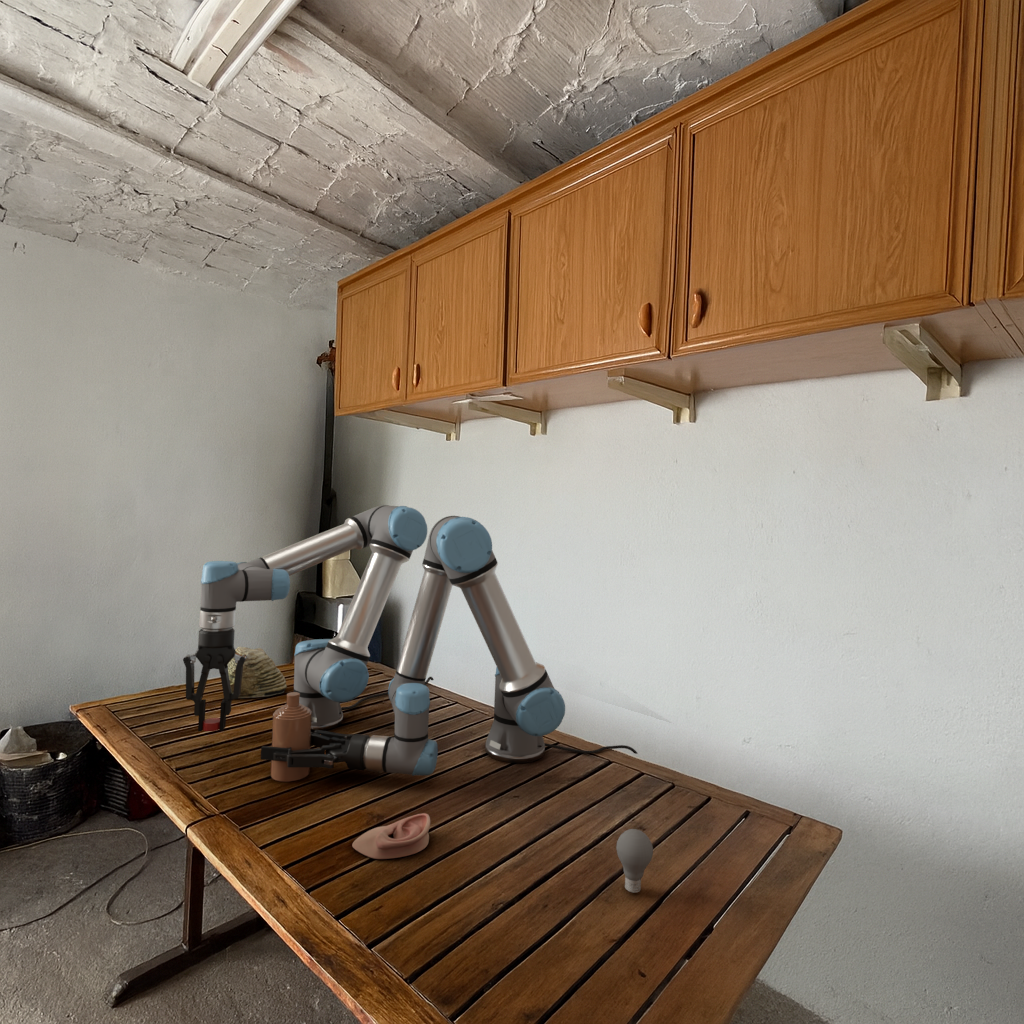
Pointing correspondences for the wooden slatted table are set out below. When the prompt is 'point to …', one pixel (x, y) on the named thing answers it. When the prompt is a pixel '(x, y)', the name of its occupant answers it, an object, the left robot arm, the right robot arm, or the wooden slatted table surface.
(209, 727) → the cap
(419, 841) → the anatomical model
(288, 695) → the bottle
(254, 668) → the fossil
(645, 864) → the light bulb
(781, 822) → the wooden slatted table surface
